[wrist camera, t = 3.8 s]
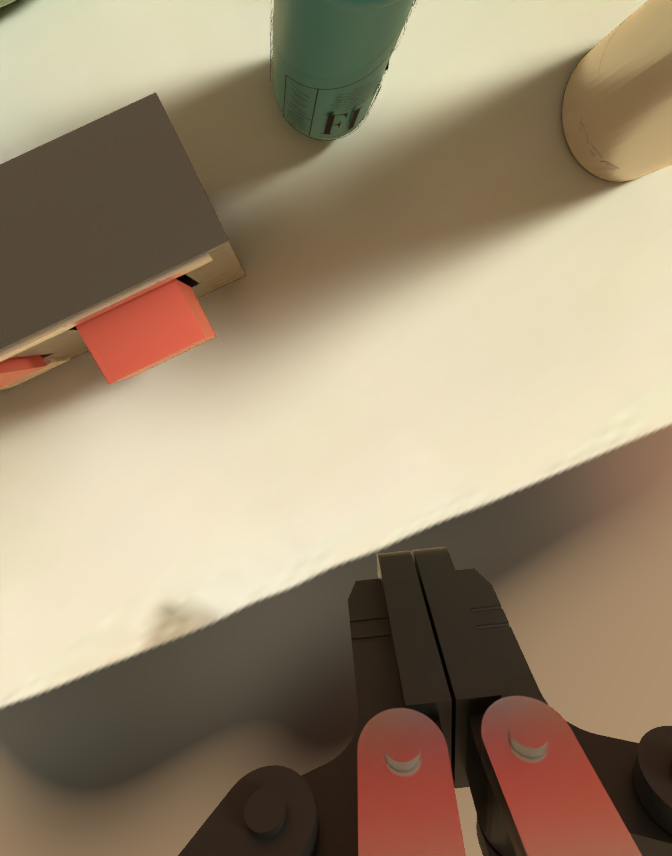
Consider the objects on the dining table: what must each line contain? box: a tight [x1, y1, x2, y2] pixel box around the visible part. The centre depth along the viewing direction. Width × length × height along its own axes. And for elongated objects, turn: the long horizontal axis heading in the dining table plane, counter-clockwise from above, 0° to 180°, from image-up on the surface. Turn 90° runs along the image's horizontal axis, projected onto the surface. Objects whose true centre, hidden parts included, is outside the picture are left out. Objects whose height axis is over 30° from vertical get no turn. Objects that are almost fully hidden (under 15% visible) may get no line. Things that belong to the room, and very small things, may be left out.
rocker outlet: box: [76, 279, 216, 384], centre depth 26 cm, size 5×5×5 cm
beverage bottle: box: [270, 0, 416, 140], centre depth 24 cm, size 6×7×20 cm
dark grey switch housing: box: [0, 93, 245, 393], centre depth 27 cm, size 20×6×14 cm, turn 115°
